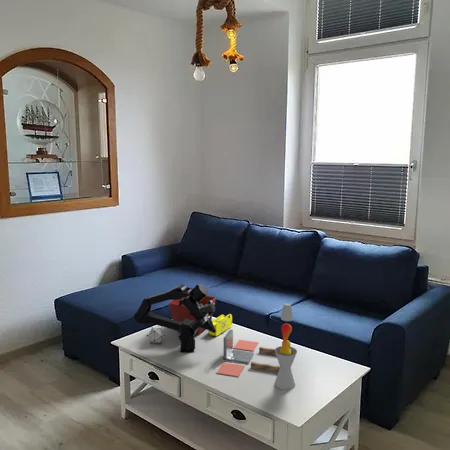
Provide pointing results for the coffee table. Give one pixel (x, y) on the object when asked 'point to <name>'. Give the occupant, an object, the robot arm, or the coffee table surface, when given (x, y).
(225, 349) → the grey bookend
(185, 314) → the plant pot
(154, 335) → the white faceted polyhedron
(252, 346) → the mat
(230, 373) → the mat
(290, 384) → the lava lamp
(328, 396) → the coffee table surface
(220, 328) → the yellow toy chassis
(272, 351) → the walnut corral
